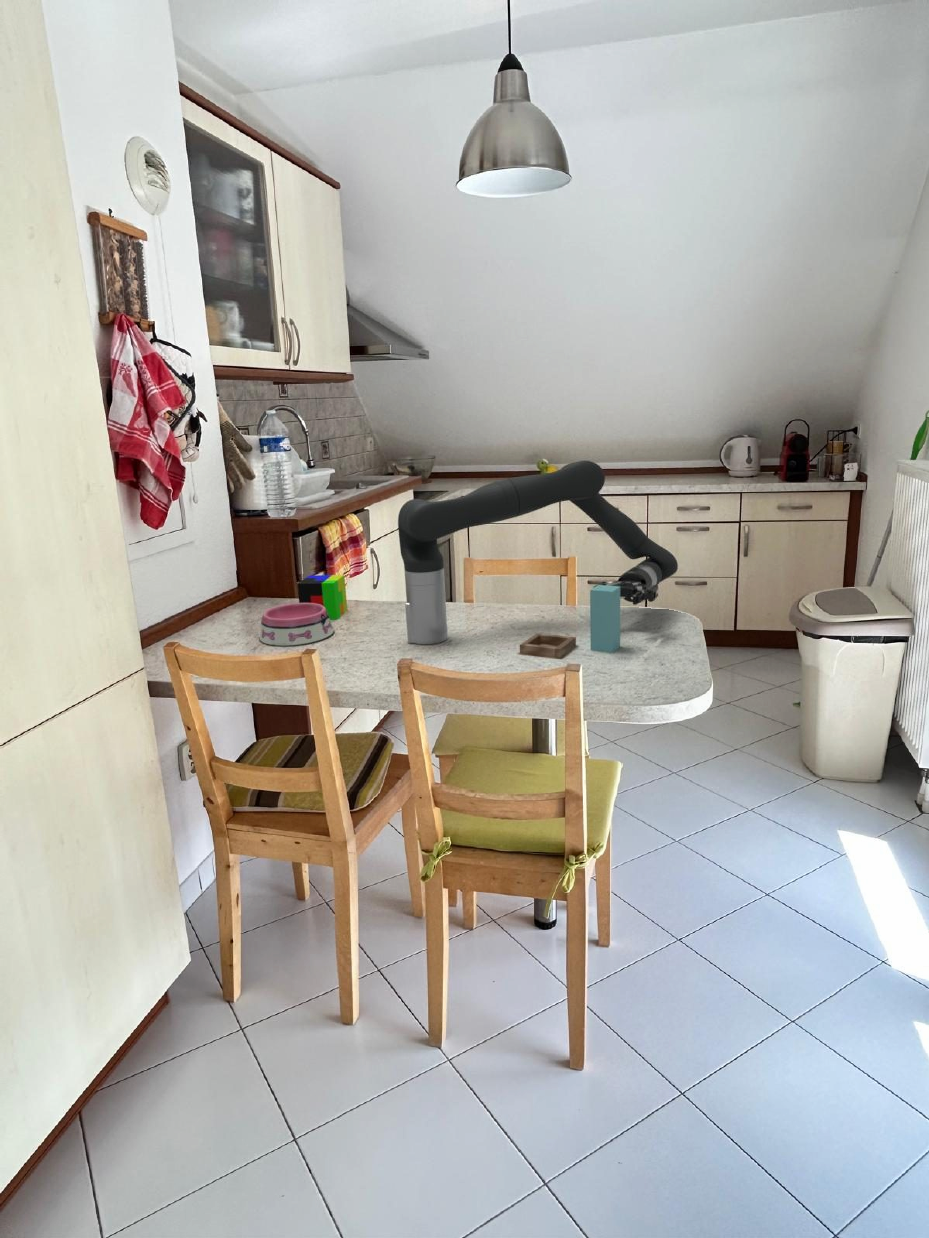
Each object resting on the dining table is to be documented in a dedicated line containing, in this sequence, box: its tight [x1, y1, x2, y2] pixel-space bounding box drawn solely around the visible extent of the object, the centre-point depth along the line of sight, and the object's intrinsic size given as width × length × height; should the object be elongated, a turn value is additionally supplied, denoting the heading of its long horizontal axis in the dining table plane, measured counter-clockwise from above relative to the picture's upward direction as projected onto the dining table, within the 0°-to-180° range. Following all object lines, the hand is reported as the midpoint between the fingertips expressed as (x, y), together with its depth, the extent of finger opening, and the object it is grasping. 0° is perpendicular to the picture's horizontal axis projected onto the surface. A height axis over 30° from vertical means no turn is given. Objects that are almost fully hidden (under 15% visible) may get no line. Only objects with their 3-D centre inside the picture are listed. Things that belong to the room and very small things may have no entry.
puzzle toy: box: [296, 574, 348, 621], centre depth 224 cm, size 10×10×10 cm
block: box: [589, 584, 621, 654], centre depth 180 cm, size 5×5×14 cm
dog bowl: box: [258, 602, 336, 648], centre depth 205 cm, size 18×19×7 cm
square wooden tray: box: [517, 632, 579, 660], centre depth 182 cm, size 10×10×3 cm
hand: (615, 599), depth 186 cm, fingers open, 8 cm apart
